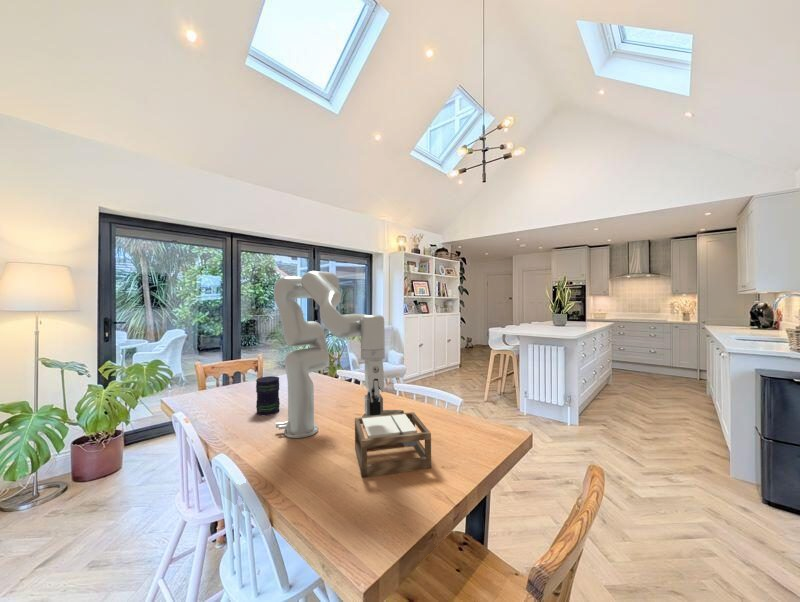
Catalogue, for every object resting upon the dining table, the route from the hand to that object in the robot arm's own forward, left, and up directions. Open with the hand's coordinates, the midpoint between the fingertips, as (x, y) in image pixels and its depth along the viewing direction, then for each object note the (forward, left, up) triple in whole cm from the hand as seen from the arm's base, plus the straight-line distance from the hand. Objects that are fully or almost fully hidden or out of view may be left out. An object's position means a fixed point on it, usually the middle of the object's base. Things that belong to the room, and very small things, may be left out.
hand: (373, 410), depth 101 cm
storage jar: (-40, +56, -16) cm, 70 cm away
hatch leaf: (+5, 0, -9) cm, 11 cm away
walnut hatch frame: (+5, 0, -16) cm, 17 cm away
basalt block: (0, 0, -1) cm, 1 cm away
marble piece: (+8, +29, -16) cm, 34 cm away
